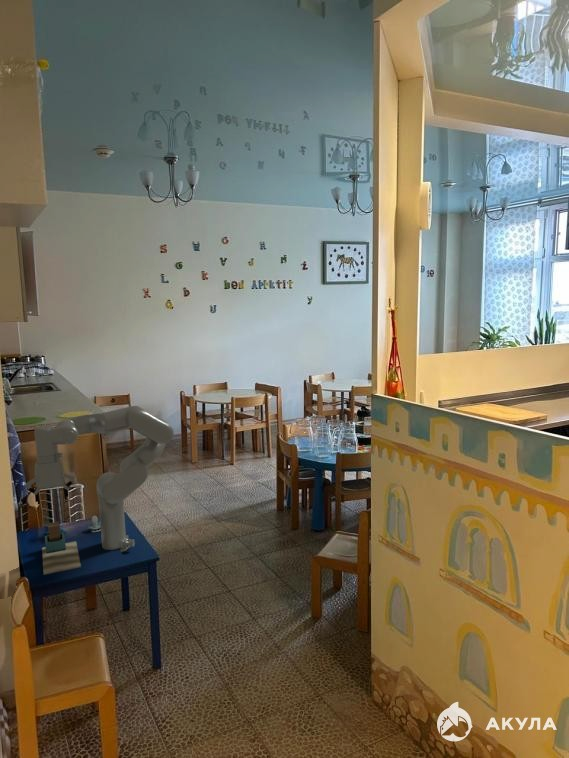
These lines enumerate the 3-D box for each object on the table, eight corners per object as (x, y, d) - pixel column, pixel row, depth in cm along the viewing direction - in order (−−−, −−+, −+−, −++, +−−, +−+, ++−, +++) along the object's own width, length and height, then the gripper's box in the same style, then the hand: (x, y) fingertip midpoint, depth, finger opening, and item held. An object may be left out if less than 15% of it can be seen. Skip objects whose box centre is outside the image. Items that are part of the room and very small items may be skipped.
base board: (81, 570, 213) (80, 566, 213) (43, 578, 208) (43, 574, 208) (76, 544, 235) (76, 541, 235) (42, 551, 230) (42, 547, 229)
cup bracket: (66, 559, 219) (64, 536, 217) (47, 563, 216) (45, 540, 214) (64, 544, 231) (62, 522, 230) (46, 548, 229) (44, 526, 227)
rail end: (61, 547, 219) (59, 525, 217) (50, 549, 217) (48, 527, 216) (61, 543, 222) (59, 521, 221) (50, 545, 221) (48, 523, 219)
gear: (71, 533, 242) (51, 521, 237) (62, 545, 240) (42, 534, 235) (62, 528, 250) (44, 517, 246) (54, 540, 248) (35, 529, 243)
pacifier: (108, 528, 250) (99, 525, 253) (107, 515, 249) (98, 512, 252) (94, 535, 244) (85, 531, 248) (93, 521, 243) (84, 517, 246)
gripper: (71, 452, 222) (75, 493, 225) (22, 459, 214) (27, 501, 217) (73, 457, 215) (77, 500, 218) (23, 464, 208) (28, 508, 211)
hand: (52, 500), depth 218 cm, fingers open, 9 cm apart
